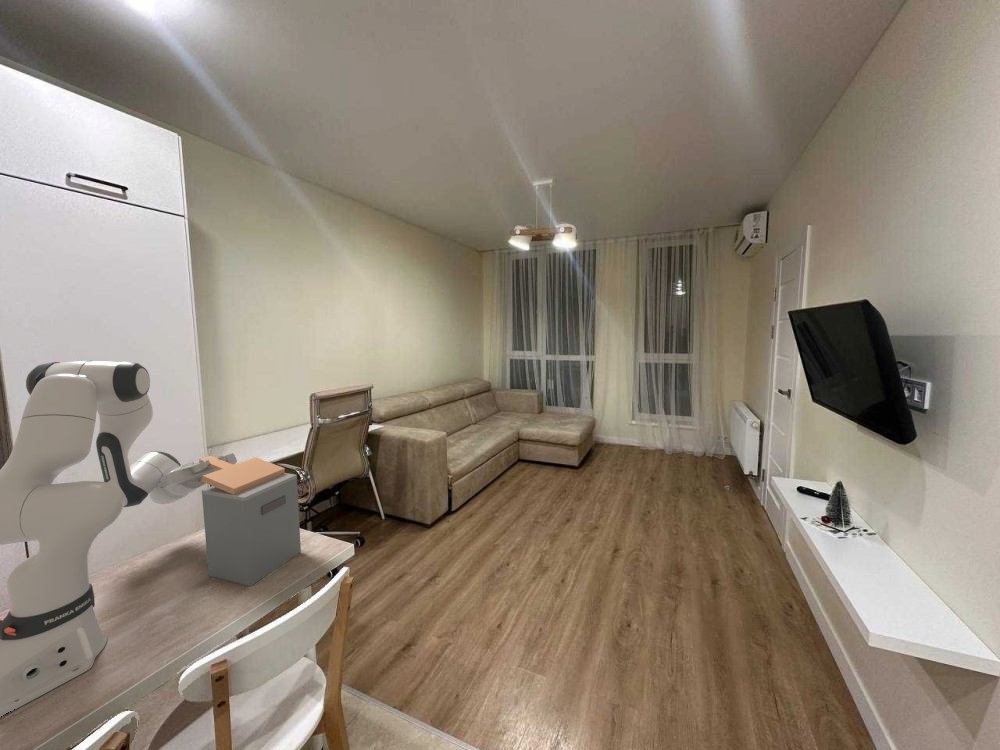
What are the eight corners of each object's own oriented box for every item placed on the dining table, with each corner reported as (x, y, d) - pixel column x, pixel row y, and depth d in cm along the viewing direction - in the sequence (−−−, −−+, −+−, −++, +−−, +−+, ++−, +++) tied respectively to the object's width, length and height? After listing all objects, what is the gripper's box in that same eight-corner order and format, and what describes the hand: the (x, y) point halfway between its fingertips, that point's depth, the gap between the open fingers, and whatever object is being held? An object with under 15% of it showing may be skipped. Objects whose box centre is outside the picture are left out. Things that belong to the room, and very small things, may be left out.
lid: (233, 494, 107) (234, 488, 107) (175, 470, 113) (175, 464, 113) (284, 473, 123) (284, 468, 123) (230, 452, 129) (231, 447, 129)
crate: (251, 586, 108) (245, 497, 105) (208, 575, 113) (201, 490, 110) (301, 552, 125) (297, 474, 122) (262, 543, 130) (258, 469, 127)
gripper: (148, 479, 115) (174, 462, 110) (217, 458, 134) (241, 442, 130) (157, 499, 114) (183, 481, 110) (224, 474, 134) (249, 459, 129)
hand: (215, 460), depth 120 cm, fingers open, 3 cm apart
